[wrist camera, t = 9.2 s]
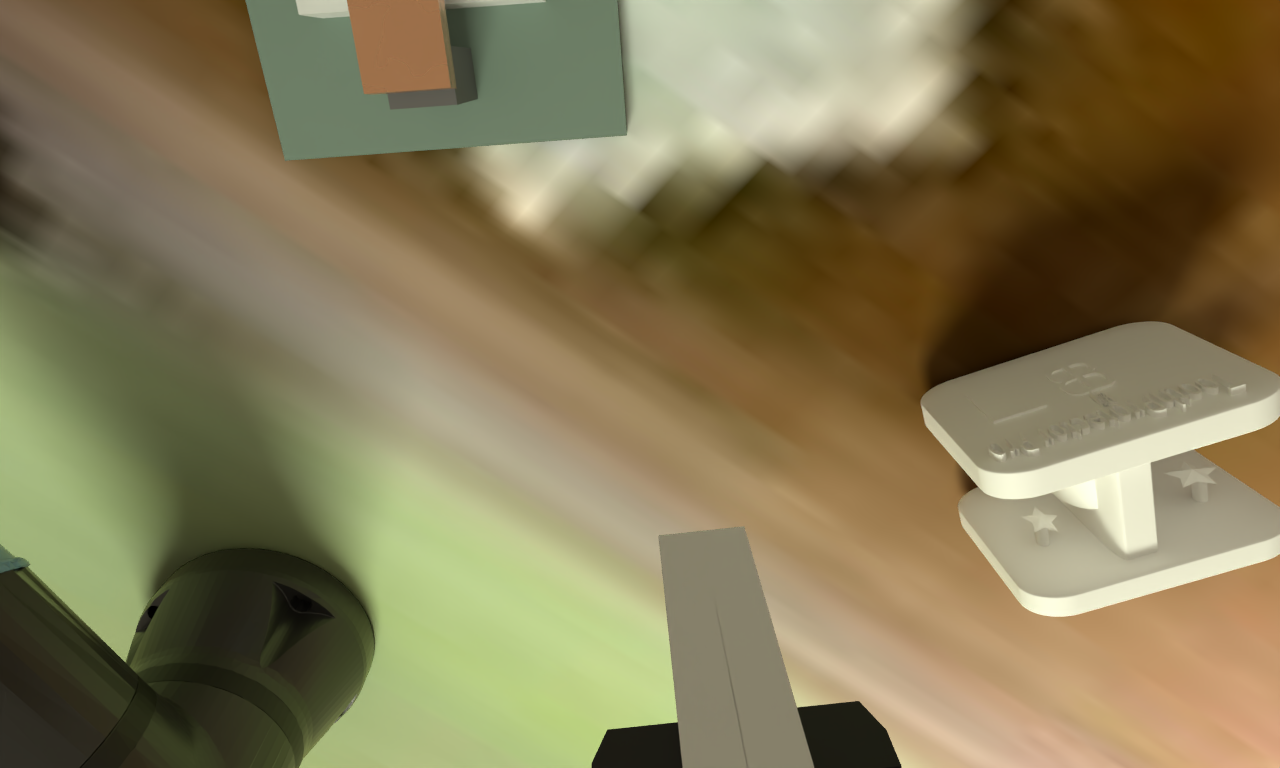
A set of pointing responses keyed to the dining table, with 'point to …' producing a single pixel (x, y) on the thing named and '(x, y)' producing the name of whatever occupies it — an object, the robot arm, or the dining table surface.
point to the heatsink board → (512, 78)
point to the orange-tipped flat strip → (402, 45)
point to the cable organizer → (1108, 465)
